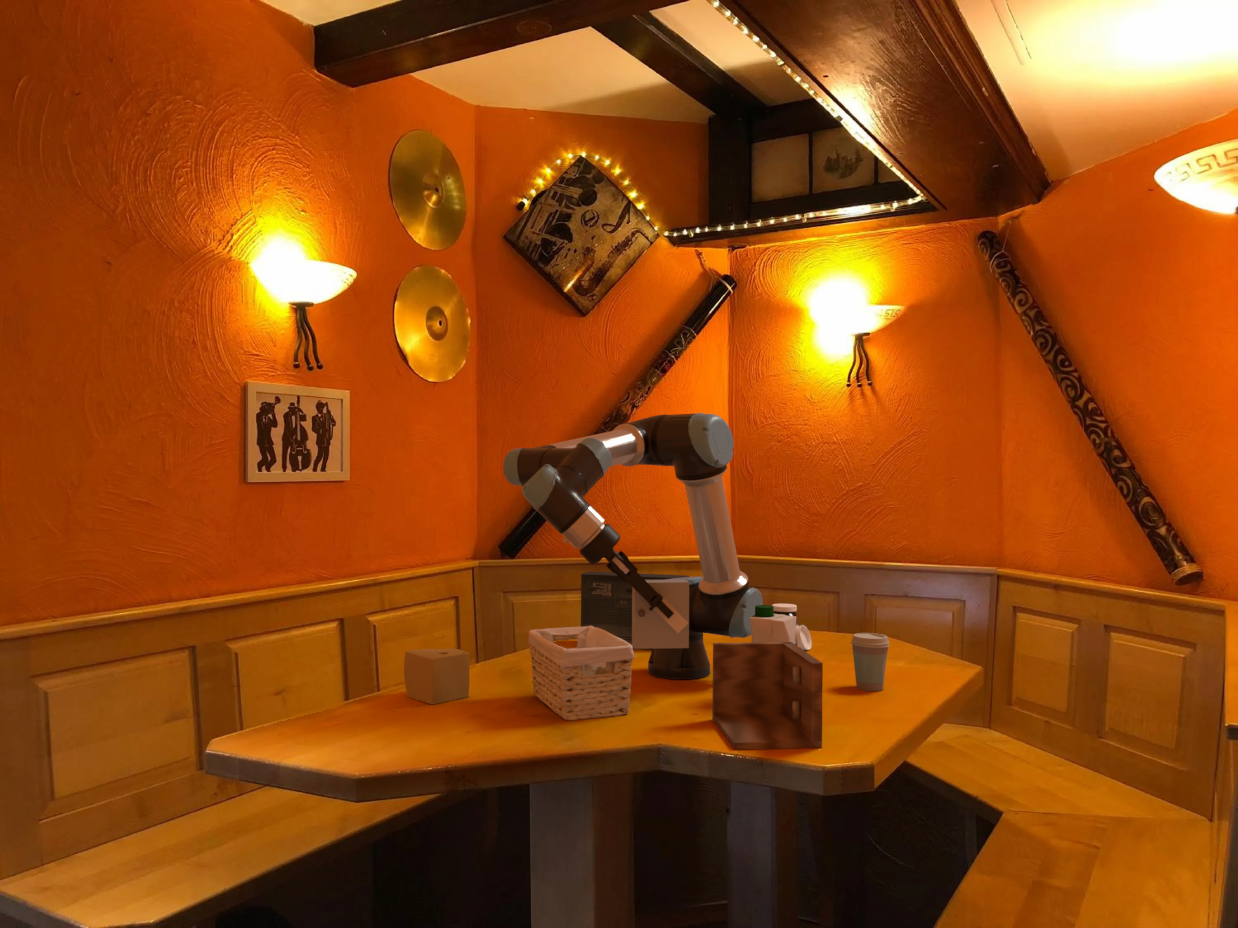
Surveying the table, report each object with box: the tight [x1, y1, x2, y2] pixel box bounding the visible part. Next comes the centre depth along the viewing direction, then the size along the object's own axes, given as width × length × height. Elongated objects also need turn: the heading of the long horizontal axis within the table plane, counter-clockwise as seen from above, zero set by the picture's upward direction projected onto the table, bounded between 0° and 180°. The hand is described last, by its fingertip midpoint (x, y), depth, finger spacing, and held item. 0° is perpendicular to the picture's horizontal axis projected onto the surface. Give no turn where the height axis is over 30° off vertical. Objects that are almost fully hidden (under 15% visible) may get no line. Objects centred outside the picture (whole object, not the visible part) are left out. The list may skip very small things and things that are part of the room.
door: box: [632, 580, 689, 650], centre depth 175 cm, size 10×5×12 cm, turn 96°
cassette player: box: [580, 571, 690, 651], centre depth 264 cm, size 29×7×20 cm, turn 74°
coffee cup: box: [850, 632, 890, 692], centre depth 217 cm, size 9×8×12 cm
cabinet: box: [711, 642, 824, 751], centre depth 180 cm, size 16×20×15 cm
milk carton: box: [750, 604, 796, 644], centre depth 206 cm, size 9×9×20 cm
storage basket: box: [527, 626, 635, 721], centre depth 199 cm, size 24×16×15 cm
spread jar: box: [771, 603, 813, 651], centre depth 264 cm, size 12×11×12 cm
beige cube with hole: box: [403, 648, 470, 706], centre depth 205 cm, size 10×11×10 cm
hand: (680, 625), depth 176 cm, fingers closed on door, 4 cm apart
